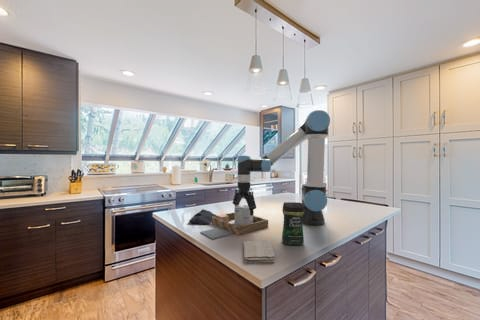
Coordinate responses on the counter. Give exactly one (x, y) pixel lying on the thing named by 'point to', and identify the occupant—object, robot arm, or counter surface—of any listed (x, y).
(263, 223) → the brown wooden tray
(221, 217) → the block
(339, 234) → the counter surface
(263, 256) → the washcloth
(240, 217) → the light bulb box
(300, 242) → the coffee jar
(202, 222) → the dark slate chunk
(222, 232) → the mat
